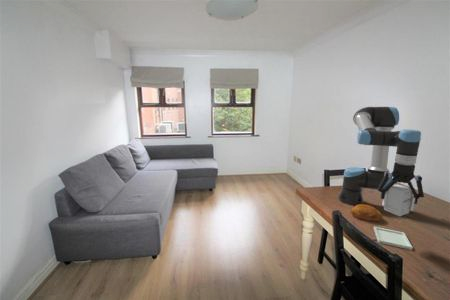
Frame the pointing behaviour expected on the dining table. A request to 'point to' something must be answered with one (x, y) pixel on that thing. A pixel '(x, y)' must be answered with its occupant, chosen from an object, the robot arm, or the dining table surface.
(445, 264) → the dining table surface
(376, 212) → the croissant
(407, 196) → the supplement box
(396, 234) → the pale green square tray
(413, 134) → the robot arm
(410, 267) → the dining table surface
